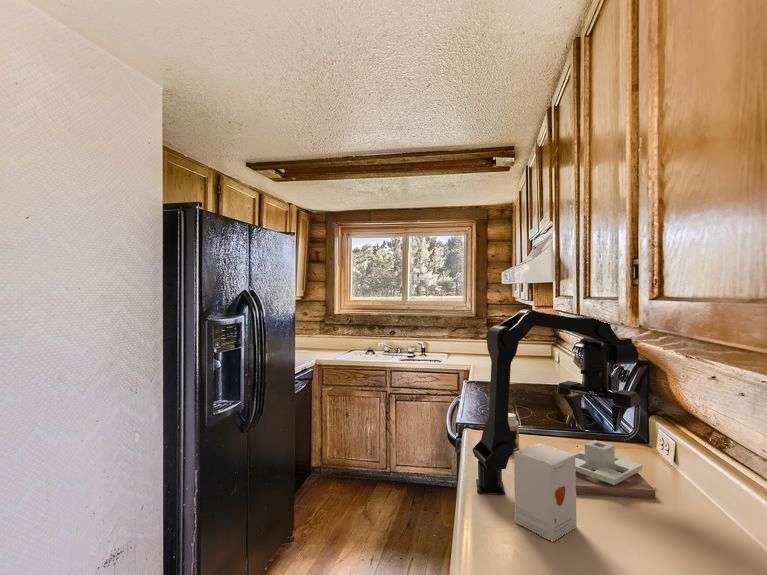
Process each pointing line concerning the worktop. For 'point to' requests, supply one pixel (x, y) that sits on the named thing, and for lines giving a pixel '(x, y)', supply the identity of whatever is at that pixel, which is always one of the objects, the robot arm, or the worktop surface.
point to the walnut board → (614, 486)
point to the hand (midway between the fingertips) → (597, 426)
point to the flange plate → (604, 463)
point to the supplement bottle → (514, 427)
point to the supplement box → (545, 490)
